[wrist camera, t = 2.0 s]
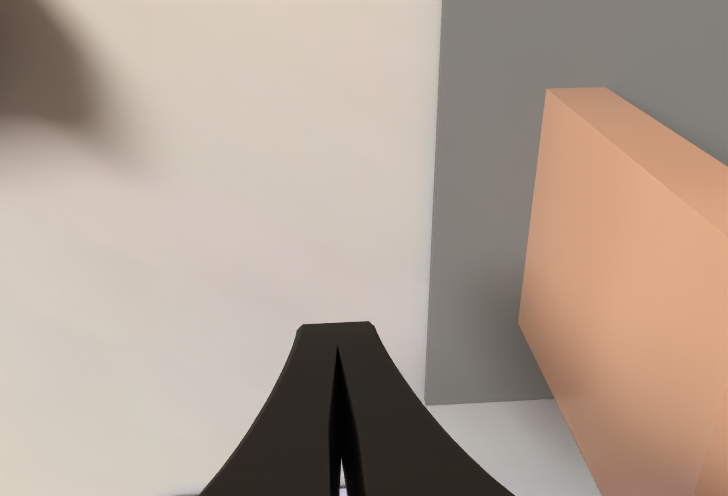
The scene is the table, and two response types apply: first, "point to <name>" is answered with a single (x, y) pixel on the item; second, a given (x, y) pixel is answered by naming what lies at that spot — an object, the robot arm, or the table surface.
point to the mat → (521, 147)
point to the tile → (631, 294)
